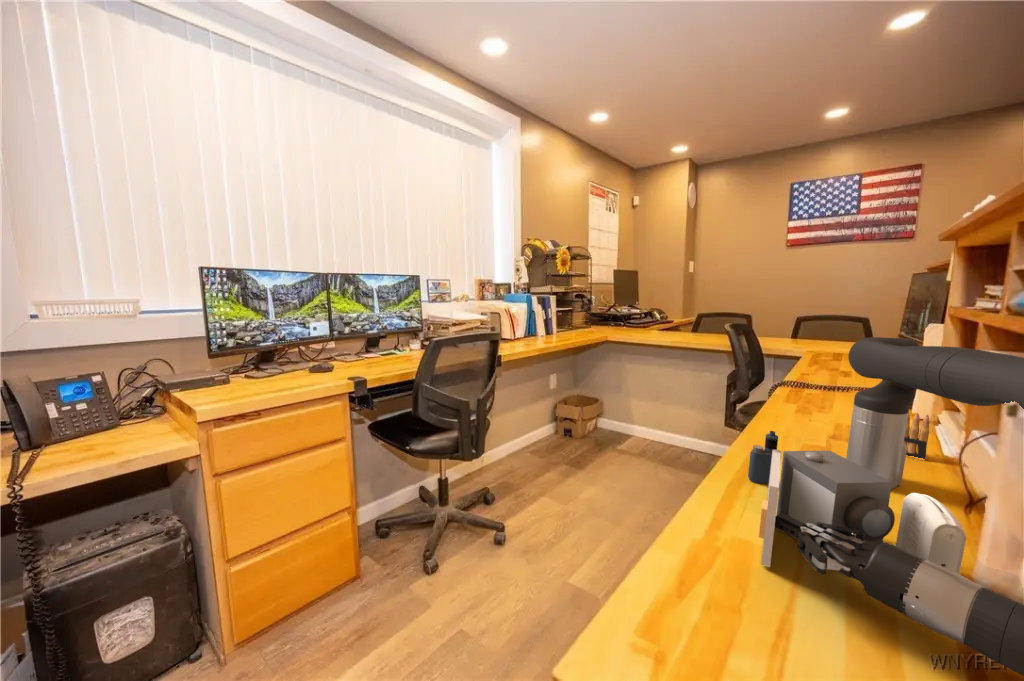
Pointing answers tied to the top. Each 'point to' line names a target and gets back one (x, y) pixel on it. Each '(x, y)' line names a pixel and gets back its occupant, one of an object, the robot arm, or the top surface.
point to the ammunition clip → (913, 436)
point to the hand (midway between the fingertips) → (777, 519)
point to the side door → (770, 509)
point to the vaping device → (762, 460)
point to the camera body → (835, 493)
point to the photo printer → (931, 532)
